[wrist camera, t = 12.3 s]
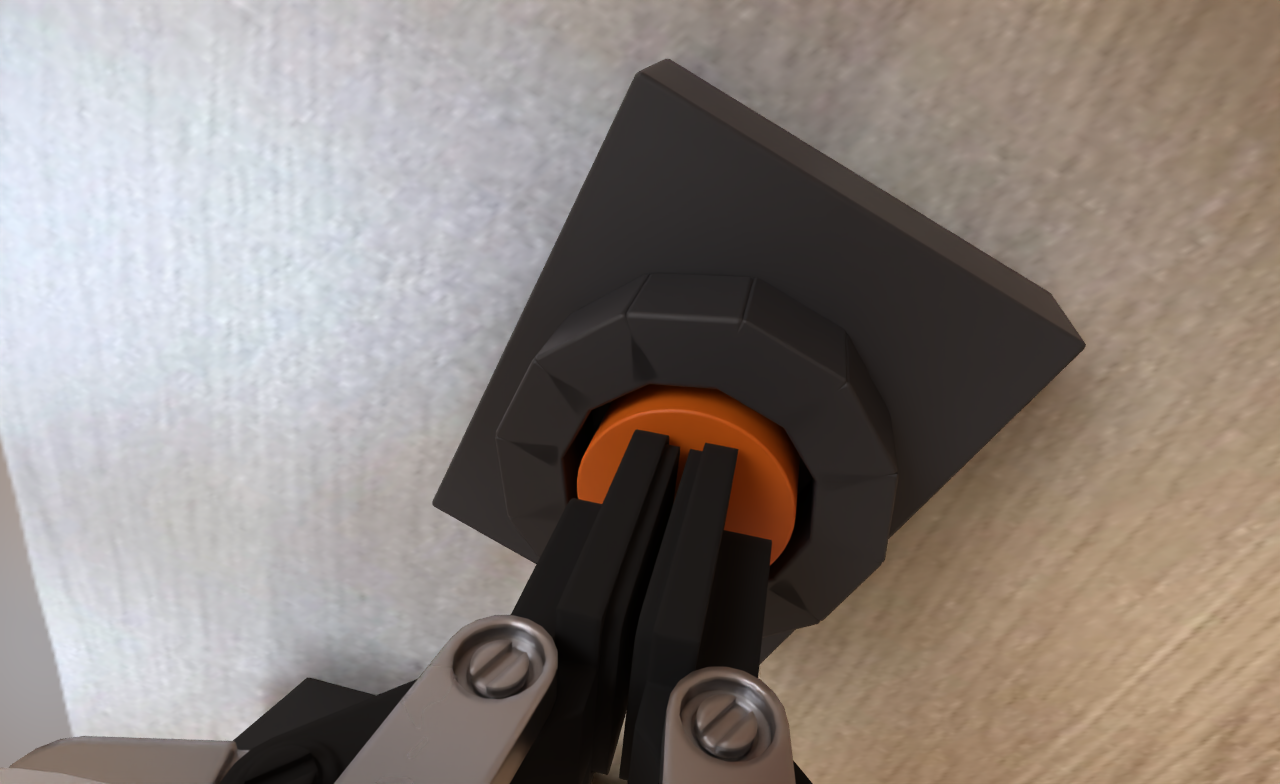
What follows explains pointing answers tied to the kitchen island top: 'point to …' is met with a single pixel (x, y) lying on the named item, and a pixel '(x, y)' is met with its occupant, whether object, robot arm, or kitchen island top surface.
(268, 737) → the character figurine
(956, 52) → the kitchen island top surface
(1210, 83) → the kitchen island top surface
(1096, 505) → the kitchen island top surface
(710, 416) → the button
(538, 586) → the robot arm
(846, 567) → the control block
